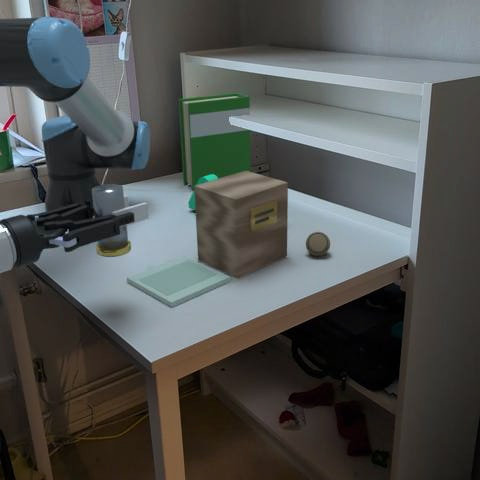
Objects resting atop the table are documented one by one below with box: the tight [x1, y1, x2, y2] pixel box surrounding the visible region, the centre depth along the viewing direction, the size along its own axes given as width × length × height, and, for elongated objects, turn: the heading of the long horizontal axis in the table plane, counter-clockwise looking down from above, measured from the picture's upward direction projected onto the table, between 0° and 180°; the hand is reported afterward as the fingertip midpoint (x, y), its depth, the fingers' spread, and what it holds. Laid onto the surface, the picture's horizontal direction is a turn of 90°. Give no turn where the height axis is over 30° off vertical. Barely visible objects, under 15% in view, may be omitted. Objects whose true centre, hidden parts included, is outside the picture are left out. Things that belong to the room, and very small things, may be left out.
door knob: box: [305, 231, 331, 257], centre depth 125 cm, size 5×5×5 cm
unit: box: [194, 171, 289, 279], centre depth 122 cm, size 13×14×16 cm
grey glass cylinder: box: [92, 183, 132, 258], centre depth 101 cm, size 6×6×11 cm
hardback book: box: [178, 92, 252, 192], centre depth 167 cm, size 18×7×24 cm, turn 117°
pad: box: [126, 255, 231, 308], centre depth 115 cm, size 14×14×1 cm
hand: (136, 206), depth 104 cm, fingers closed on grey glass cylinder, 5 cm apart
